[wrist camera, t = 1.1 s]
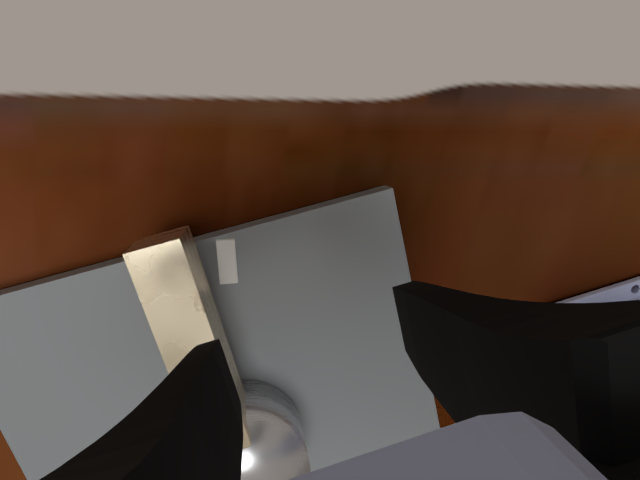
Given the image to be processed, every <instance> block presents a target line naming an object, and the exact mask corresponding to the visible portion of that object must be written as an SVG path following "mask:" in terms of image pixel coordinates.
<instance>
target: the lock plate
mask: <svg viewBox="0 0 640 480" xmlns="http://www.w3.org/2000/svg"><path fill="white" fill-rule="evenodd" d="M193 239H194V242H195V245H196V248H197V251H198V254H199V257H200V260H201V263H202V266H203V269H204V272H205V275H206V278H207V281H208V284H209V287H210V290H211V293H212V296H213V299H214V301H215V304H216V307H217V310H218V313H219V316H220V319H221V322H222V325H223V328H224V331H225V334H226V337H227V340H228V343H229V346H230V349H231V352H232V355H233V358H234V361H235V364H236V367H237V370H238V373H239V376H240V379H241V380H251V381H259V382H263V383H267V384H270V385H272V386H274V387H276V388H278V389H280V390H281V391H283V392H284V393H285V394H286V395H288V396H289V397H290V398H291V400H292V401H293V402H294V403H295V405H296V407H297V408H298V411H299V413H300V416H301V420H302V425H303V431H304V436H305V441H306V446H307V452H308V457H309V462H310V470H311V472H312V471H315V470H318V469H321V468H324V467H327V466H330V465H333V464H336V463H339V462H342V461H345V460H348V459H351V458H354V457H357V456H360V455H363V454H366V453H369V452H372V451H375V450H378V449H381V448H384V447H387V446H390V445H393V444H396V443H399V442H402V441H405V440H407V439H410V438H413V437H416V436H419V435H422V434H425V433H428V432H431V431H434V430H437V429H440V426H439V421H438V416H437V411H436V405H435V400H434V395H433V393H432V392H431V391H430V389H429V388H428V387H427V385H426V384H425V383H424V381H423V380H422V379H421V377H420V376H419V374H418V372H417V370H416V369H415V367H414V365H413V363H412V362H411V360H410V358H409V356H408V354H407V353H406V351H405V346H404V342H403V337H402V332H401V327H400V323H399V318H398V313H397V308H396V304H395V299H394V294H393V289H392V287H394V286H398V285H401V284H404V283H408V282H411V278H410V273H409V268H408V262H407V257H406V252H405V247H404V242H403V237H402V232H401V227H400V222H399V217H398V211H397V206H396V201H395V196H394V191H393V188H391V187H389V186H386V185H384V186H380V187H376V188H373V189H369V190H365V191H362V192H358V193H354V194H351V195H347V196H343V197H339V198H336V199H332V200H328V201H325V202H321V203H317V204H314V205H310V206H306V207H303V208H299V209H295V210H292V211H288V212H284V213H281V214H277V215H273V216H270V217H266V218H262V219H259V220H255V221H251V222H248V223H244V224H240V225H237V226H233V227H229V228H226V229H222V230H218V231H214V232H211V233H207V234H203V235H200V236H196V237H193ZM167 376H168V371H167V369H166V366H165V363H164V361H163V358H162V356H161V353H160V351H159V348H158V345H157V343H156V340H155V338H154V335H153V333H152V330H151V327H150V325H149V322H148V320H147V317H146V315H145V312H144V309H143V307H142V304H141V302H140V299H139V297H138V294H137V291H136V289H135V286H134V284H133V281H132V279H131V276H130V273H129V271H128V268H127V266H126V263H125V261H124V258H123V257H119V258H115V259H112V260H108V261H104V262H101V263H97V264H93V265H89V266H86V267H82V268H78V269H75V270H71V271H67V272H64V273H60V274H56V275H53V276H49V277H45V278H42V279H38V280H34V281H31V282H27V283H23V284H20V285H16V286H12V287H9V288H5V289H1V290H0V430H1V432H2V433H3V435H4V437H5V439H6V441H7V443H8V445H9V447H10V448H11V450H12V452H13V454H14V456H15V458H16V460H17V462H18V463H19V465H20V467H21V469H22V471H23V473H24V475H25V476H26V478H27V480H40V479H41V478H43V477H44V476H46V475H47V474H49V473H51V472H52V471H54V470H55V469H57V468H58V467H60V466H61V465H63V464H64V463H66V462H67V461H68V460H70V459H71V458H73V457H74V456H75V455H77V454H78V453H80V452H81V451H82V450H84V449H85V448H87V447H88V446H90V445H91V444H92V443H94V442H95V441H97V440H98V439H99V438H100V437H102V436H103V435H104V434H105V433H107V432H108V431H109V430H110V429H112V428H113V427H114V426H115V425H116V424H118V423H119V422H120V421H121V420H122V419H124V418H125V417H126V416H127V415H128V414H129V413H130V412H131V411H133V410H134V409H135V408H136V407H137V406H138V405H139V404H140V403H141V402H142V401H143V400H144V399H145V398H146V397H147V396H148V395H149V394H150V393H151V392H152V391H153V390H154V389H155V388H156V387H157V386H158V385H159V384H160V383H161V382H162V381H163V380H164V379H165V378H166V377H167Z"/></svg>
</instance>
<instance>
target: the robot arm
mask: <svg viewBox="0 0 640 480" xmlns="http://www.w3.org/2000/svg"><path fill="white" fill-rule="evenodd" d="M632 287H633V289H632ZM392 289H393V294H394V299H395V304H396V308H397V313H398V318H399V323H400V327H401V332H402V337H403V342H404V346H405V351H406V353H407V354H408V356H409V358H410V360H411V362H412V363H413V365H414V367H415V369H416V370H417V372H418V374H419V376H420V377H421V379H422V380H423V381H424V383H425V384H426V385H427V387H428V388H429V389H430V391H431V392H432V393H433V394H434V396H435V397H436V398H437V400H438V401H439V402H440V403H441V405H442V406H443V407H444V409H445V410H446V411H447V412H448V414H449V415H450V416H451V418H452V419H453V420H454V421H455V424H452V425H449V426H446V427H443V428H440V429H437V430H434V431H431V432H428V433H425V434H422V435H419V436H416V437H413V438H410V439H407V440H405V441H402V442H399V443H396V444H393V445H390V446H387V447H384V448H381V449H378V450H375V451H372V452H369V453H366V454H363V455H360V456H357V457H354V458H351V459H348V460H345V461H342V462H339V463H336V464H333V465H330V466H327V467H324V468H321V469H318V470H315V471H312V472H309V473H306V474H303V475H300V476H298V477H295V478H292V479H289V480H640V276H639V277H636V278H632V279H629V280H626V281H623V282H620V283H616V284H613V285H610V286H607V287H604V288H601V289H597V290H594V291H591V292H588V293H585V294H581V295H578V296H575V297H572V298H569V299H566V300H562V301H559V302H556V303H543V302H529V301H518V300H508V299H501V298H494V297H489V296H483V295H477V294H472V293H467V292H463V291H458V290H454V289H450V288H446V287H441V286H437V285H433V284H429V283H424V282H418V281H411V282H408V283H404V284H401V285H398V286H394V287H392ZM631 289H632V290H631ZM242 451H243V421H242V409H241V401H240V398H239V395H238V392H237V389H236V386H235V383H234V380H233V378H232V375H231V372H230V369H229V366H228V363H227V360H226V357H225V354H224V351H223V348H222V345H221V343H220V340H219V339H216V340H213V341H209V342H206V343H203V344H199V345H197V346H195V347H194V348H193V349H192V350H191V351H190V352H189V353H188V354H187V355H186V356H185V357H184V358H183V359H182V360H181V361H180V363H179V364H178V365H177V366H176V367H175V368H174V369H173V370H172V371H171V372H170V373H169V374H168V376H167V377H166V378H165V379H164V380H163V381H162V382H161V383H160V384H159V385H158V386H157V387H156V388H155V389H154V390H153V391H152V392H151V393H150V394H149V395H148V396H147V397H146V398H145V399H144V400H143V401H142V402H141V403H140V404H139V405H138V406H137V407H136V408H135V409H134V410H133V411H131V412H130V413H129V414H128V415H127V416H126V417H125V418H124V419H122V420H121V421H120V422H119V423H118V424H116V425H115V426H114V427H113V428H112V429H110V430H109V431H108V432H107V433H105V434H104V435H103V436H102V437H100V438H99V439H98V440H97V441H95V442H94V443H92V444H91V445H90V446H88V447H87V448H85V449H84V450H82V451H81V452H80V453H78V454H77V455H75V456H74V457H73V458H71V459H70V460H68V461H67V462H66V463H64V464H63V465H61V466H60V467H58V468H57V469H55V470H54V471H52V472H51V473H49V474H47V475H46V476H44V477H43V478H41V479H40V480H241V467H242Z"/></svg>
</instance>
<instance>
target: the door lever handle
mask: <svg viewBox="0 0 640 480" xmlns="http://www.w3.org/2000/svg"><path fill="white" fill-rule="evenodd" d="M122 255H123V258H124V261H125V263H126V266H127V268H128V271H129V273H130V276H131V279H132V281H133V284H134V286H135V289H136V291H137V294H138V297H139V299H140V302H141V304H142V307H143V309H144V312H145V315H146V317H147V320H148V322H149V325H150V327H151V330H152V333H153V335H154V338H155V340H156V343H157V345H158V348H159V351H160V353H161V356H162V358H163V361H164V363H165V366H166V369H167V371H168V374H169V373H170V372H171V371H172V370H173V369H174V368H175V367H176V366H177V365H178V364H179V363H180V361H181V360H182V359H183V358H184V357H185V356H186V355H187V354H188V353H189V352H190V351H191V350H192V349H193V348H194V347H195V346H197V345H199V344H203V343H206V342H209V341H213V340H216V339H219V340H220V343H221V345H222V348H223V351H224V354H225V357H226V360H227V363H228V366H229V369H230V372H231V375H232V378H233V380H234V383H235V386H236V389H237V392H238V395H239V398H240V401H241V409H242V421H243V451H242V467H241V480H289V479H292V478H295V477H298V476H300V475H303V474H306V473H309V472H311V470H310V462H309V457H308V452H307V446H306V441H305V436H304V431H303V425H302V420H301V416H300V413H299V411H298V408H297V407H296V405H295V403H294V402H293V401H292V400H291V398H290V397H289V396H288V395H286V394H285V393H284V392H283V391H281V390H280V389H278V388H276V387H274V386H272V385H270V384H267V383H263V382H259V381H251V380H241V379H240V376H239V373H238V370H237V367H236V364H235V361H234V358H233V355H232V352H231V349H230V346H229V343H228V340H227V337H226V334H225V331H224V328H223V325H222V322H221V319H220V316H219V313H218V310H217V307H216V304H215V301H214V299H213V296H212V293H211V290H210V287H209V284H208V281H207V278H206V275H205V272H204V269H203V266H202V263H201V260H200V257H199V254H198V251H197V248H196V245H195V242H194V239H193V236H192V233H191V230H190V227H189V225H187V226H184V227H180V228H176V229H172V230H169V231H165V232H161V233H157V234H154V235H150V236H146V237H143V238H139V239H138V240H137V241H136V242H135V243H134V244H133V245H132V246H131V247H129V248H128V249H127V250H126V251H125V252H124V253H123V254H122Z"/></svg>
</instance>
